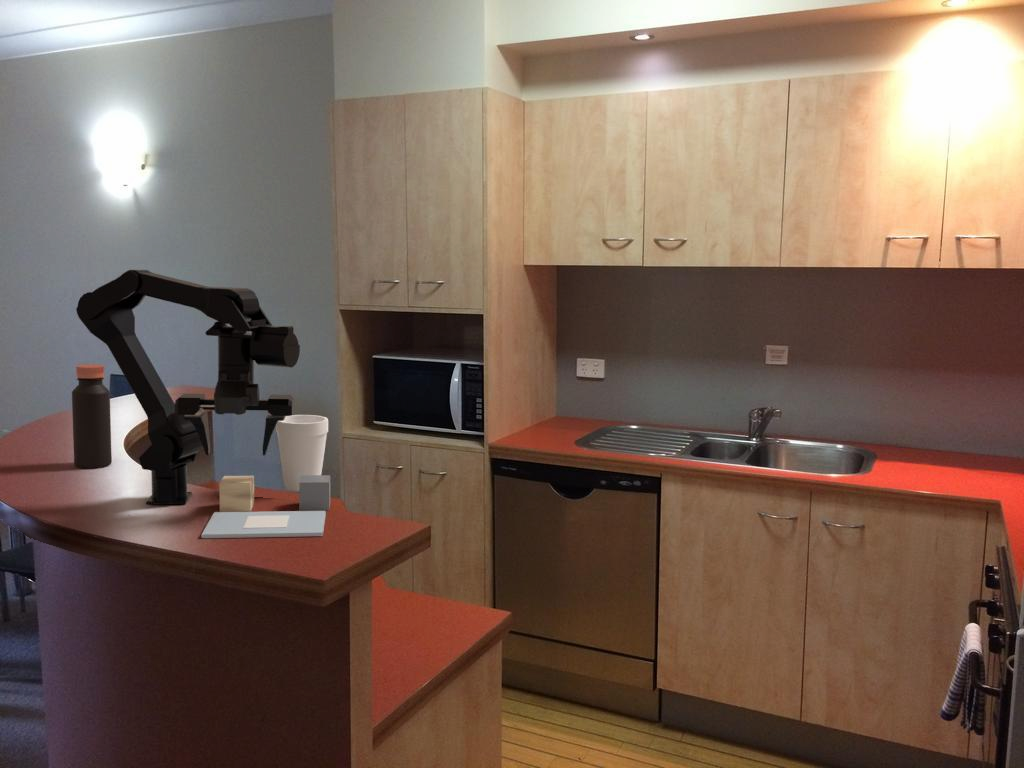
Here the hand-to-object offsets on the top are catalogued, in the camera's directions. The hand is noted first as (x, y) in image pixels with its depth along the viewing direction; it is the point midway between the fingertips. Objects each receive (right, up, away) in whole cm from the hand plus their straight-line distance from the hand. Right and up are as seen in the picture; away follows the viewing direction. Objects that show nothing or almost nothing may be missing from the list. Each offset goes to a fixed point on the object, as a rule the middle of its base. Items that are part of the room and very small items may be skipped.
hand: (236, 454), depth 150 cm
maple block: (0, -9, +1) cm, 9 cm away
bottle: (-37, -4, +27) cm, 46 cm away
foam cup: (+7, -8, +16) cm, 19 cm away
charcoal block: (+13, -9, +3) cm, 16 cm away
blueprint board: (+8, -11, -8) cm, 16 cm away
